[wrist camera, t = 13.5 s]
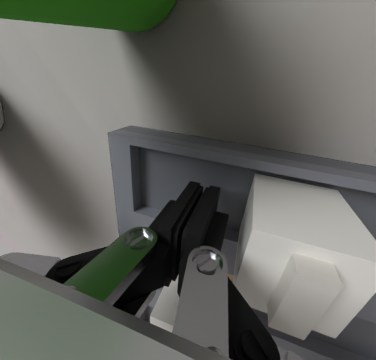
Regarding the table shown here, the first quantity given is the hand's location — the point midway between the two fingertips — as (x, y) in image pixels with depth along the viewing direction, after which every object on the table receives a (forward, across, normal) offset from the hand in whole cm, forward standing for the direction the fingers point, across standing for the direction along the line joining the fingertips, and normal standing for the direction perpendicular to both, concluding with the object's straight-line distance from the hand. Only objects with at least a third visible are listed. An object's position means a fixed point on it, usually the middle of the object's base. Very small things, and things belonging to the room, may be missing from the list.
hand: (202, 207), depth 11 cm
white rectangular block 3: (+2, -4, 0) cm, 5 cm away
